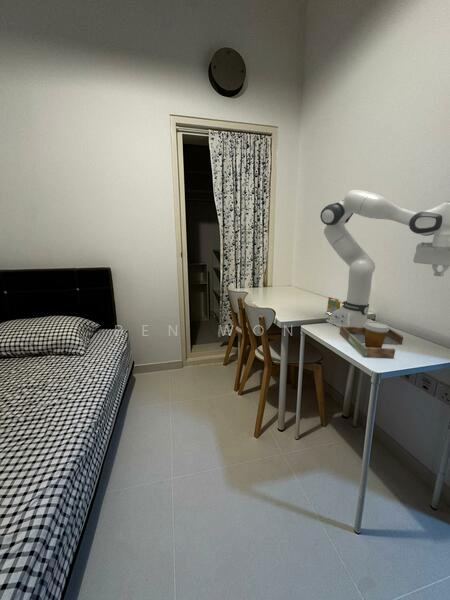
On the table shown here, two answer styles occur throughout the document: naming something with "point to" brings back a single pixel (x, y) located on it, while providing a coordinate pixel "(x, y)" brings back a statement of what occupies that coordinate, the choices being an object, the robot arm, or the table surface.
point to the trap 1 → (360, 337)
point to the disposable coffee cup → (375, 334)
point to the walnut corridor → (369, 351)
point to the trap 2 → (389, 341)
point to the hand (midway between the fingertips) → (438, 275)
